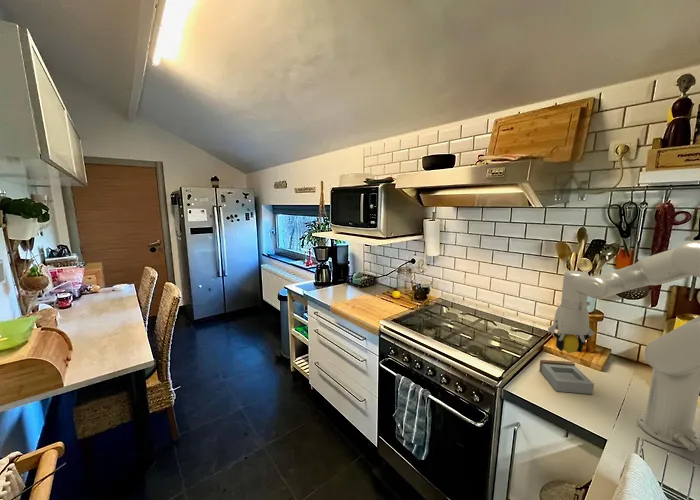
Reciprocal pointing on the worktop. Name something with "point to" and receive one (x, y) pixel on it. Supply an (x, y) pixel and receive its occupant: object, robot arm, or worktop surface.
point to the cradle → (567, 378)
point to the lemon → (570, 343)
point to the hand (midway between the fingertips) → (568, 349)
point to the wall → (555, 363)
